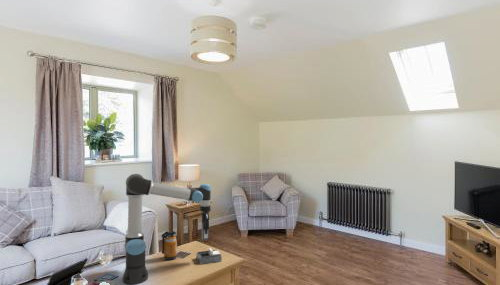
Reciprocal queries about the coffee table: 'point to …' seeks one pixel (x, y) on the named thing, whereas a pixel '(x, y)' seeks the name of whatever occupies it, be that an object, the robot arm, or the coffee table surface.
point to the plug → (203, 233)
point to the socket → (207, 257)
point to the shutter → (213, 252)
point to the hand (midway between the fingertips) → (205, 237)
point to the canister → (169, 245)
